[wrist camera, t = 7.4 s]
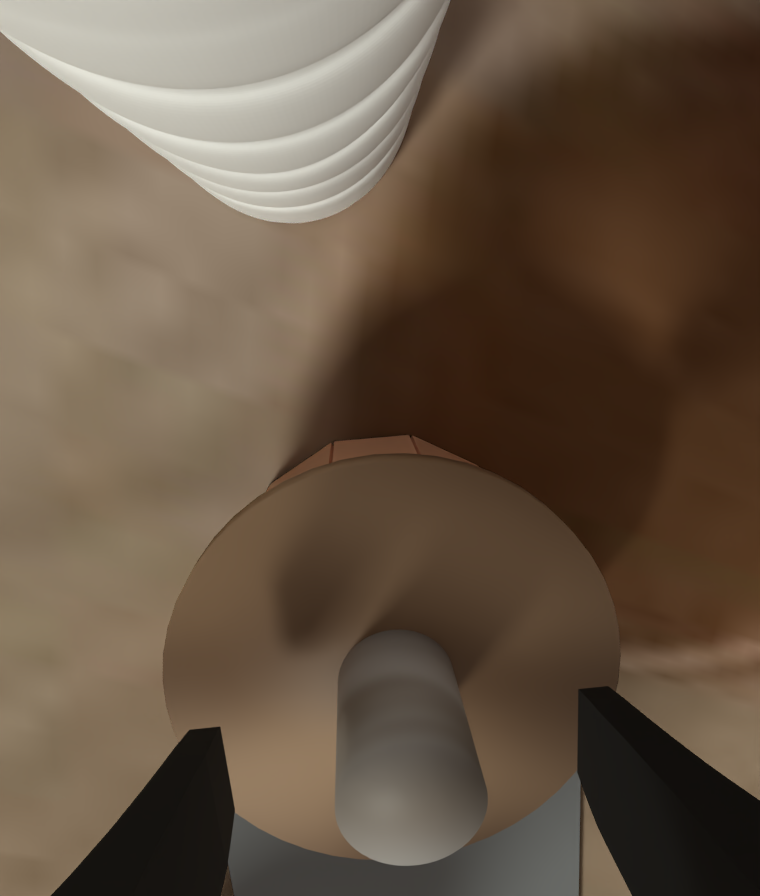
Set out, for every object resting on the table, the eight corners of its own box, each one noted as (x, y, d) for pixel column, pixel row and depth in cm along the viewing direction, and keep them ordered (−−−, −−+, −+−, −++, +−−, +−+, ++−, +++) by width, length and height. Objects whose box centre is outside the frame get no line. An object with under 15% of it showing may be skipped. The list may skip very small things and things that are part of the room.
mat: (572, 978, 24) (577, 992, 24) (261, 1015, 24) (259, 1031, 23) (576, 717, 21) (581, 727, 20) (213, 755, 20) (209, 766, 20)
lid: (605, 810, 16) (692, 984, 12) (211, 858, 16) (164, 1052, 12) (611, 430, 13) (727, 489, 9) (130, 479, 13) (30, 562, 9)
